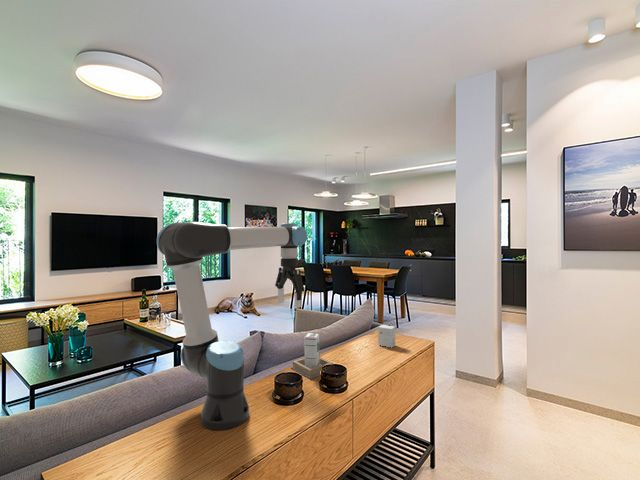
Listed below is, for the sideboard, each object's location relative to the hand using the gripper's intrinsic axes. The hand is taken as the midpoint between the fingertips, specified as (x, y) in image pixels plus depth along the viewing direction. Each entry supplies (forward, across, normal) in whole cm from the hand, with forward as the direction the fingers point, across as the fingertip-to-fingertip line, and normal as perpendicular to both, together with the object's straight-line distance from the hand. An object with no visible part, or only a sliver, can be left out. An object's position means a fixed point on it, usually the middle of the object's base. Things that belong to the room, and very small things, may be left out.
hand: (289, 305), depth 146 cm
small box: (+29, -7, -59) cm, 66 cm away
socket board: (+29, -7, -8) cm, 31 cm away
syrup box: (+28, -7, -8) cm, 30 cm away
